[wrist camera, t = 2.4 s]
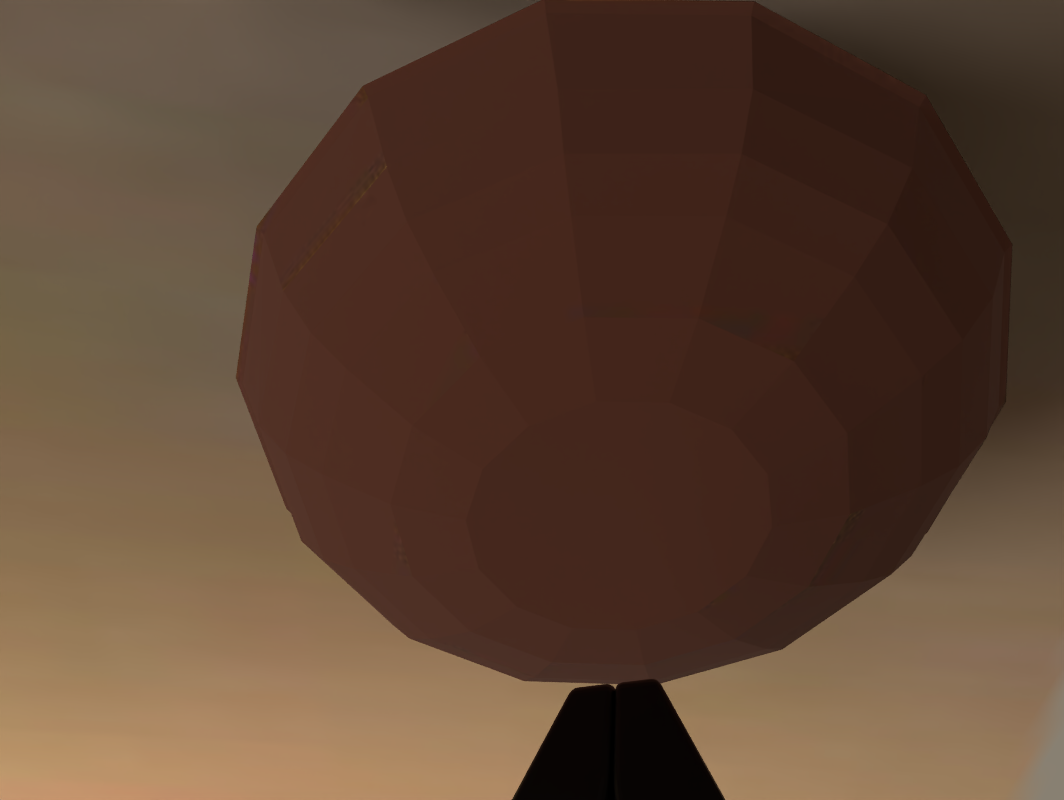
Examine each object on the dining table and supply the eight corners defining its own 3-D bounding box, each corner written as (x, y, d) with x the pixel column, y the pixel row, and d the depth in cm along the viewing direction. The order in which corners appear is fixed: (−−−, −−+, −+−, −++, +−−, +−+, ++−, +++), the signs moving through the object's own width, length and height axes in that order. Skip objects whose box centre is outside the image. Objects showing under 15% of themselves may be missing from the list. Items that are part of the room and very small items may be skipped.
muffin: (806, -172, 17) (1027, -187, 8) (954, 357, 22) (1193, 701, 13) (233, 110, 20) (-50, 317, 11) (473, 521, 25) (406, 890, 16)
